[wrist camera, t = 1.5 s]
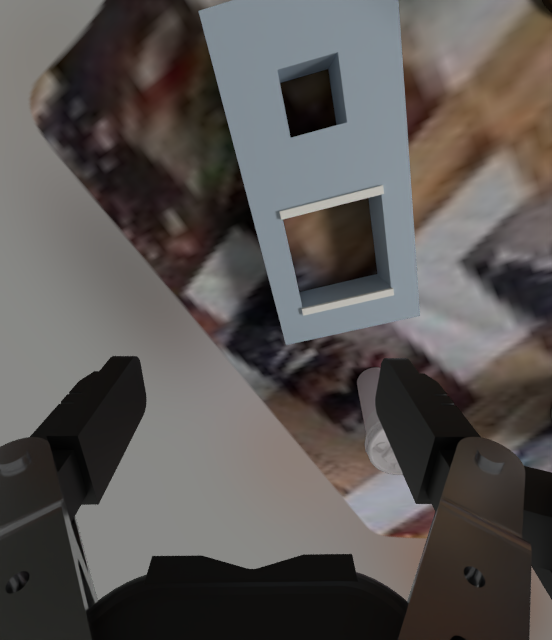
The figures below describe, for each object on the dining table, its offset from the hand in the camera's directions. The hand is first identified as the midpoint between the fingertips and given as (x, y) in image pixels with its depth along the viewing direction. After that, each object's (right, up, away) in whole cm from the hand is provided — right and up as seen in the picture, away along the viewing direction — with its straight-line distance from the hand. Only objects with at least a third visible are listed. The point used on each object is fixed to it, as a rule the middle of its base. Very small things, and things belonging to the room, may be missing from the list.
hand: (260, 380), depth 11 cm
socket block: (+4, +13, +17) cm, 22 cm away
